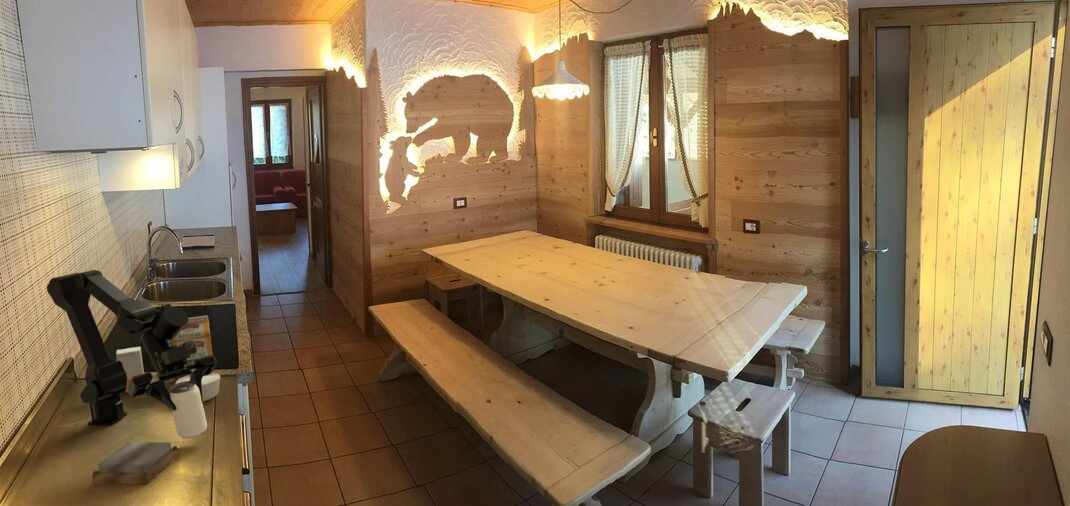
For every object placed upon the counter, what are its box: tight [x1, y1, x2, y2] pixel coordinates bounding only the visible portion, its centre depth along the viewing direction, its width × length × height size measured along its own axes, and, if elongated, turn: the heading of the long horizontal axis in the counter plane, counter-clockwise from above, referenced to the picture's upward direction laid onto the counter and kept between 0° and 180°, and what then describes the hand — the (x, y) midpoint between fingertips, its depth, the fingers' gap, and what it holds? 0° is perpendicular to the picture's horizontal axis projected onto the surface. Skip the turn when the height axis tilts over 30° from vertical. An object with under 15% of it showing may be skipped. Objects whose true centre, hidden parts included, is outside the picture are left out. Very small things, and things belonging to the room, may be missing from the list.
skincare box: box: [115, 346, 145, 393], centre depth 193 cm, size 6×4×12 cm
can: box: [168, 381, 208, 439], centre depth 158 cm, size 6×6×12 cm
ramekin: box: [176, 372, 221, 402], centre depth 188 cm, size 11×11×5 cm
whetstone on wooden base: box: [91, 441, 180, 485], centre depth 149 cm, size 12×12×4 cm
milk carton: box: [171, 315, 216, 385], centre depth 200 cm, size 11×11×19 cm
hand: (188, 405), depth 157 cm, fingers closed on can, 6 cm apart
